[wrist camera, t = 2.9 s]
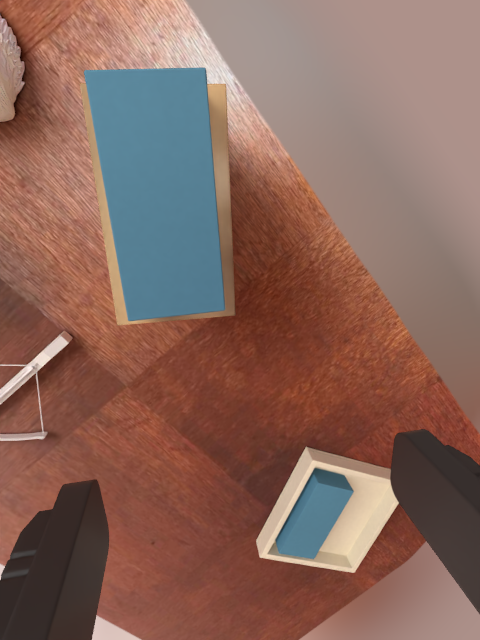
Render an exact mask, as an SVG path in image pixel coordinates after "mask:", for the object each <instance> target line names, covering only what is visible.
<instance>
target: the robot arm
mask: <svg viewBox="0 0 480 640" xmlns="http://www.w3.org/2000/svg"><path fill="white" fill-rule="evenodd" d="M390 481H391V487H392V490H393V493H394V495H395V497H396V499H397V501H398V502H399V504H400V505H401V506H402V508H403V509H404V511H405V512H406V513H407V515H408V516H409V517H410V519H411V520H412V522H413V523H414V524H415V526H416V527H417V528H418V530H419V531H420V533H421V534H422V535H423V537H424V538H425V539H426V541H427V542H428V543H429V545H430V546H431V548H432V549H433V550H434V552H435V553H436V555H437V556H438V557H439V559H440V560H441V561H442V563H443V564H444V566H445V567H446V568H447V570H448V571H449V572H450V574H451V575H452V577H453V578H454V579H455V581H456V582H457V584H458V585H459V586H460V588H461V589H462V590H463V592H464V593H465V595H466V596H467V597H468V599H469V600H470V601H471V603H472V604H473V605H474V607H475V608H476V610H477V611H478V612H479V614H480V465H478V464H477V463H476V462H475V461H474V460H473V459H472V458H471V457H469V456H467V455H466V454H464V453H462V452H460V451H458V450H457V449H455V448H453V447H451V446H449V445H446V446H444V445H443V444H442V443H441V442H440V441H439V440H438V439H437V438H436V437H435V436H434V435H432V434H431V433H430V432H429V431H427V430H425V429H421V430H414V431H408V432H402V433H398V434H396V436H395V439H394V447H393V456H392V465H391V474H390ZM108 549H109V529H108V523H107V518H106V514H105V509H104V505H103V500H102V496H101V492H100V487H99V484H98V481H97V480H89V481H82V482H76V483H69V484H64V485H63V486H62V488H61V489H60V492H59V494H58V497H57V500H56V502H55V505H54V507H53V509H51V510H45V511H39V512H38V513H37V515H36V516H35V517H34V518H33V519H32V520H31V521H30V523H29V524H28V525H27V526H26V527H25V528H24V529H23V531H22V532H21V533H20V535H19V538H18V540H17V542H16V544H15V546H14V549H13V551H12V553H11V555H10V556H11V557H10V560H8V562H7V564H6V566H5V568H4V570H3V573H2V575H1V580H0V640H92V634H93V629H94V625H95V619H96V614H97V609H98V603H99V598H100V593H101V587H102V582H103V577H104V572H105V566H106V561H107V556H108Z"/></svg>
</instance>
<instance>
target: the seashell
mask: <svg viewBox="0 0 480 640" xmlns="http://www.w3.org/2000/svg"><path fill="white" fill-rule="evenodd" d="M20 53H21V49H20V47H19V46H17V41H16V37H15V36H14V35H13V32H12V29H11V27H8V25H7V21H6V20H5V19H3V18H2V17H1V15H0V122H4V121H8V120H12V119H13V118H14V116H15V110H14V102H15V100H16V96H17V94H18V93H19V92H20V91H21V89H22V88H23V86H24V84H25V82H23V81H21V80H22V75H23V72H24V69H25V67H24V61H21V60H20Z"/></svg>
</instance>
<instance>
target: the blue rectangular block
mask: <svg viewBox="0 0 480 640" xmlns="http://www.w3.org/2000/svg"><path fill="white" fill-rule="evenodd" d="M84 75H85V81H86V87H87V92H88V98H89V104H90V109H91V115H92V120H93V126H94V132H95V137H96V143H97V149H98V154H99V160H100V166H101V171H102V177H103V183H104V188H105V194H106V199H107V205H108V211H109V216H110V222H111V228H112V233H113V239H114V245H115V250H116V256H117V261H118V267H119V273H120V278H121V284H122V290H123V295H124V301H125V307H126V312H127V318H128V321H137V320H146V319H154V318H163V317H172V316H181V315H190V314H199V313H208V312H217V311H224V310H225V298H224V286H223V273H222V261H221V249H220V236H219V224H218V212H217V199H216V187H215V174H214V162H213V150H212V137H211V125H210V113H209V100H208V88H207V76H206V69H205V68H166V69H119V70H85V71H84Z"/></svg>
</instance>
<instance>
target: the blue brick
mask: <svg viewBox="0 0 480 640" xmlns="http://www.w3.org/2000/svg"><path fill="white" fill-rule="evenodd" d="M353 492H354V491H353V489H352V487H351V486H350V484H349V482H348V480H347V479H346V477H345V475H342V474H338V473H334V472H330V471H326V470H322V469H318V468H314V470H313V472H312V473H311V475H310V477H309V479H308V481H307V482H306V484H305V486H304V488H303V490H302V492H301V493H300V495H299V497H298V499H297V501H296V503H295V504H294V506H293V508H292V510H291V512H290V514H289V515H288V517H287V519H286V521H285V523H284V525H283V526H282V528H281V530H280V532H279V534H278V535H277V537H276V539H275V541H276V545H277V548H278V552H279V554H285V555H291V556H297V557H303V558H309V559H314V558H315V557H316V555H317V553H318V552H319V550H320V548H321V547H322V545H323V543H324V541H325V540H326V538H327V536H328V535H329V533H330V531H331V530H332V528H333V526H334V525H335V523H336V521H337V520H338V518H339V516H340V514H341V513H342V511H343V509H344V508H345V506H346V504H347V503H348V501H349V499H350V498H351V496H352V494H353Z"/></svg>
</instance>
